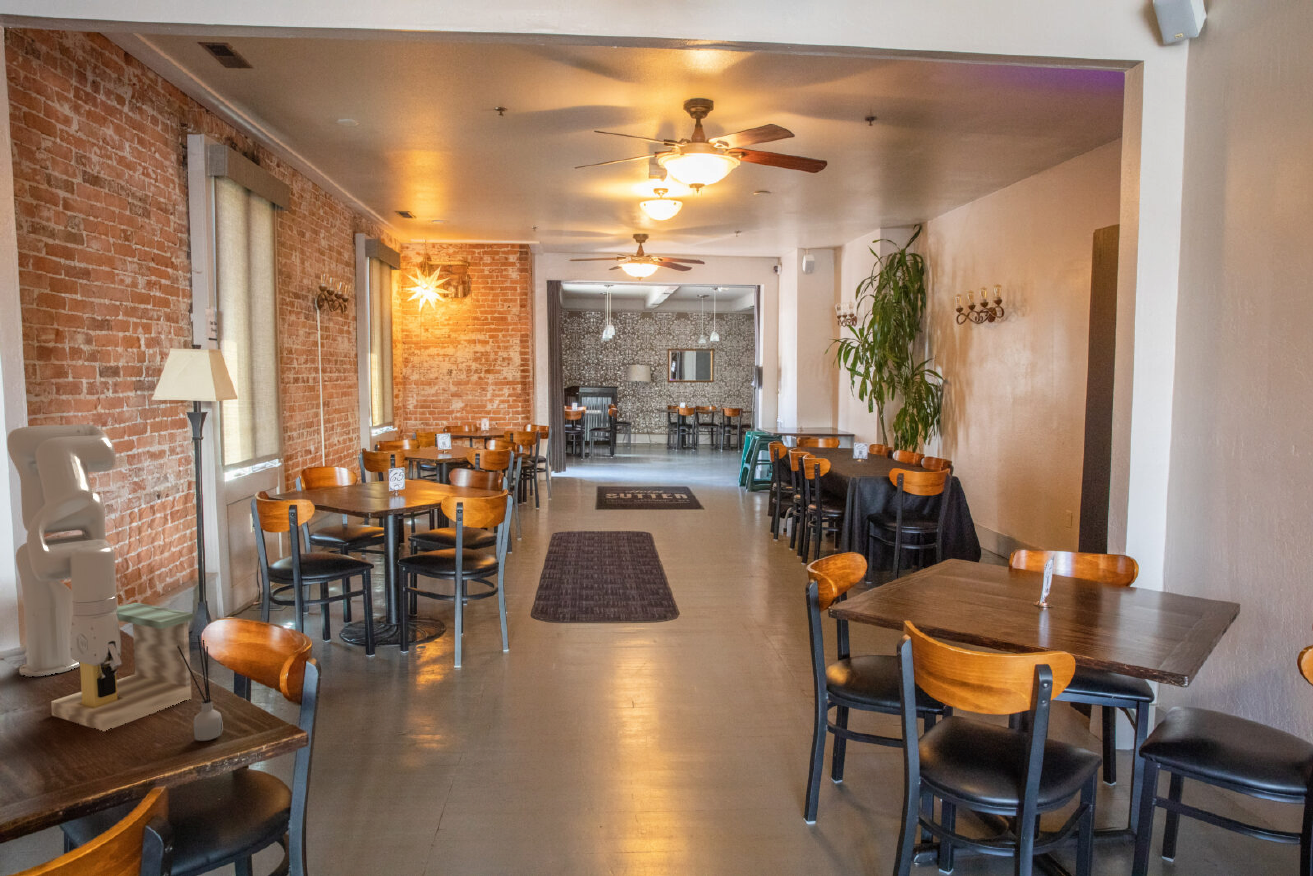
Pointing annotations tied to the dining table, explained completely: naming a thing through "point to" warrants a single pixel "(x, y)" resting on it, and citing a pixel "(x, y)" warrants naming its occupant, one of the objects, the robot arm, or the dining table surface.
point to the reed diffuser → (205, 707)
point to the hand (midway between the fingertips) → (99, 692)
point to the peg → (93, 687)
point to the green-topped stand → (142, 671)
